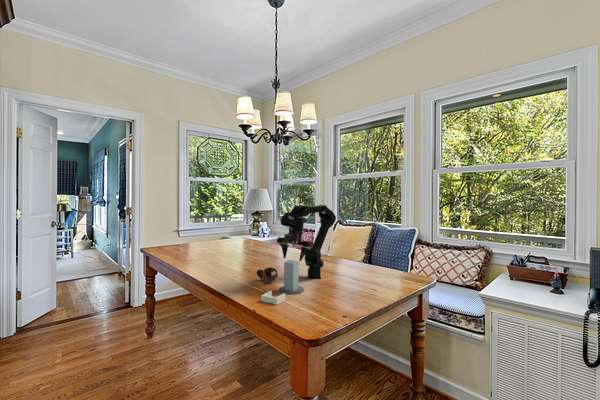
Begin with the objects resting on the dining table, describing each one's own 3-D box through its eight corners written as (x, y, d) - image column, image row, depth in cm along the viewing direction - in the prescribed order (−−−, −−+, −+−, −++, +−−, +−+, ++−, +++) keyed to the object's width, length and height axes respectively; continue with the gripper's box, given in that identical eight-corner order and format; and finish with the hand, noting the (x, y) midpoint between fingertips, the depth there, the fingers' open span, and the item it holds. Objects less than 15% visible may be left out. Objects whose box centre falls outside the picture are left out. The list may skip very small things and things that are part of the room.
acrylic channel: (270, 296, 128) (270, 290, 128) (285, 299, 124) (285, 293, 124) (261, 301, 122) (261, 295, 122) (276, 304, 118) (276, 298, 118)
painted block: (289, 286, 140) (289, 260, 140) (298, 288, 138) (298, 261, 138) (284, 289, 136) (284, 262, 136) (293, 291, 133) (293, 263, 133)
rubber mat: (302, 286, 144) (302, 284, 144) (305, 293, 132) (305, 292, 132) (278, 286, 142) (278, 285, 142) (279, 294, 130) (279, 293, 130)
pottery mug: (279, 279, 157) (281, 268, 152) (273, 292, 148) (275, 280, 144) (258, 273, 158) (259, 261, 154) (251, 285, 150) (252, 273, 146)
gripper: (273, 224, 146) (268, 255, 143) (306, 229, 137) (301, 262, 135) (284, 228, 156) (279, 257, 153) (315, 232, 147) (311, 262, 144)
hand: (292, 259), depth 146 cm, fingers open, 9 cm apart
